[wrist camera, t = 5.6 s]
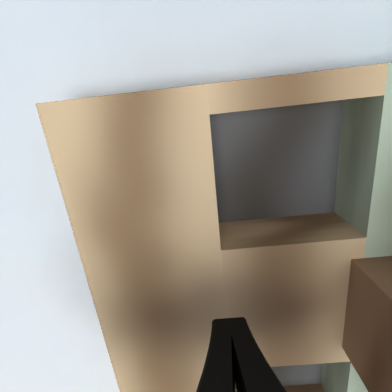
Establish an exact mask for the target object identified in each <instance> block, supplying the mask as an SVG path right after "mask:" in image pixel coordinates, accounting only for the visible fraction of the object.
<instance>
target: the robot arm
mask: <svg viewBox="0 0 392 392" xmlns="http://www.w3.org/2000/svg"><path fill="white" fill-rule="evenodd" d="M235 384H236V389H237V392H287V391H286V390H285V388H284V387H283V385H282V384H281V382H280V381H279V379H278V378H277V376H276V375H275V373H274V372H273V370H272V369H271V367H270V365H269V364H268V362H267V360H266V359H265V357H264V355H263V354H262V352H261V350H260V348H259V347H258V345H257V343H256V341H255V339H254V337H253V335H252V333H251V331H250V329H249V326H248V324H247V321H246V319H245V318H244V317H236V318H223V319H214V320H213V321H212V329H211V337H210V343H209V348H208V352H207V356H206V360H205V364H204V368H203V371H202V374H201V378H200V381H199V384H198V387H197V390H196V392H235Z"/></svg>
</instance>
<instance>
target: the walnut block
mask: <svg viewBox="0 0 392 392" xmlns="http://www.w3.org/2000/svg"><path fill="white" fill-rule="evenodd" d="M342 348H343V350H344V351H345V353H346V355H347V357H348V358H349V360H350V362H351V363H352V365H353V367H354V368H355V370H356V372H357V373H358V375H359V377H360V379H361V380H362V382H363V384H364V385H365V387H366V389H367V390H368V392H392V256H383V257H371V258H360V259H351V266H350V276H349V285H348V294H347V304H346V313H345V322H344V332H343V341H342Z"/></svg>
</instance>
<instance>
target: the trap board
mask: <svg viewBox="0 0 392 392" xmlns="http://www.w3.org/2000/svg"><path fill="white" fill-rule="evenodd" d="M36 107H37V111H38V114H39V118H40V121H41V124H42V128H43V131H44V135H45V138H46V141H47V145H48V148H49V152H50V155H51V158H52V162H53V165H54V169H55V172H56V175H57V179H58V182H59V186H60V189H61V192H62V196H63V199H64V203H65V206H66V210H67V213H68V216H69V220H70V223H71V227H72V230H73V233H74V237H75V240H76V244H77V247H78V250H79V254H80V257H81V261H82V264H83V267H84V271H85V274H86V278H87V281H88V284H89V288H90V291H91V295H92V298H93V301H94V305H95V308H96V312H97V315H98V318H99V322H100V325H101V329H102V332H103V336H104V339H105V342H106V346H107V349H108V353H109V356H110V359H111V363H112V366H113V370H114V373H115V376H116V380H117V383H118V387H119V390H120V392H196V390H197V387H198V384H199V381H200V378H201V374H202V371H203V368H204V364H205V360H206V356H207V352H208V348H209V343H210V337H211V329H212V321H213V320H214V319H223V318H236V317H244V318H245V319H246V321H247V324H248V326H249V329H250V331H251V333H252V335H253V337H254V339H255V341H256V343H257V345H258V347H259V348H260V350H261V352H262V354H263V355H264V357H265V359H266V360H267V362H268V364H269V365H270V367H271V369H272V370H273V372H274V373H275V375H276V376H277V378H278V379H279V381H280V382H281V384H282V385H283V387H284V388H285V390H286V391H287V392H368V390H367V389H366V387H365V385H364V384H363V382H362V380H361V379H360V377H359V375H358V373H357V372H356V370H355V368H354V367H353V365H352V363H351V362H350V360H349V358H348V357H347V355H346V353H345V351H344V350H343V348H342V341H343V332H344V322H345V313H346V304H347V294H348V285H349V276H350V266H351V259H360V258H371V257H383V256H392V62H391V63H382V64H374V65H365V66H357V67H348V68H339V69H331V70H322V71H314V72H305V73H296V74H288V75H279V76H270V77H262V78H253V79H245V80H236V81H227V82H219V83H210V84H201V85H193V86H184V87H176V88H167V89H158V90H150V91H141V92H132V93H124V94H115V95H107V96H98V97H89V98H81V99H72V100H63V101H55V102H46V103H38V104H36ZM235 392H237V389H236V384H235Z"/></svg>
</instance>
